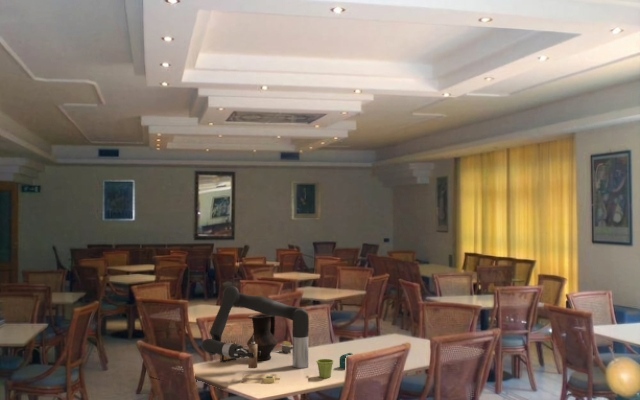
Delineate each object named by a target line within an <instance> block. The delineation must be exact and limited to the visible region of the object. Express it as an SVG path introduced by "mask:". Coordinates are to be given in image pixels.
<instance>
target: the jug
mask: <svg viewBox="0 0 640 400" xmlns="http://www.w3.org/2000/svg"><path fill="white" fill-rule="evenodd" d="M247 318H248V319H251V320H252V328H253V333H252V335H254V342H255V344H257V351H260V352H261V355H260V356H257V361H266V360H271V359H272V356H271V353H272V351H273V350H274V349H275V348H276V346H277V345H278V343H279V342H278V340H277V339H276V338H275V335H276V316H271V315H266V314H263V313H260V312H258V313H253V314H252V313H251V314H250V315H248V316H247ZM252 335H251V336H250V338H249V339H248V341H247V343H246V345H247V347H249V344H251V342H252Z"/></svg>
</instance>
